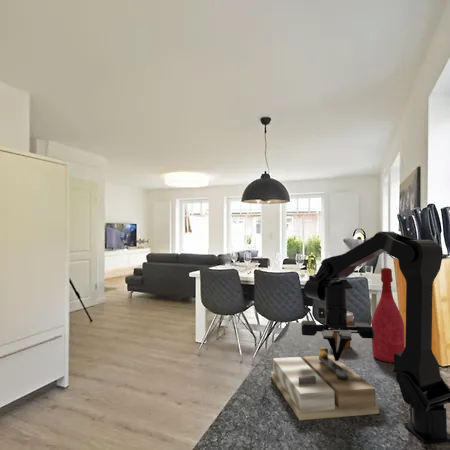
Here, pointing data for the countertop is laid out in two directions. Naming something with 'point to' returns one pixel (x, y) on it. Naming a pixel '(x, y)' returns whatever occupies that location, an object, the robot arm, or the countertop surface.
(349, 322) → the disposable coffee cup
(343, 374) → the latch bar
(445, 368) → the countertop surface
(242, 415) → the countertop surface
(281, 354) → the countertop surface
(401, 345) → the wine bottle
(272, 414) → the countertop surface
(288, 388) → the door and jamb
